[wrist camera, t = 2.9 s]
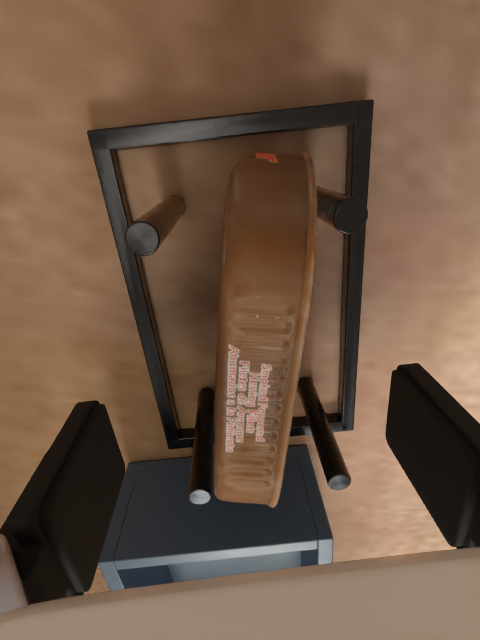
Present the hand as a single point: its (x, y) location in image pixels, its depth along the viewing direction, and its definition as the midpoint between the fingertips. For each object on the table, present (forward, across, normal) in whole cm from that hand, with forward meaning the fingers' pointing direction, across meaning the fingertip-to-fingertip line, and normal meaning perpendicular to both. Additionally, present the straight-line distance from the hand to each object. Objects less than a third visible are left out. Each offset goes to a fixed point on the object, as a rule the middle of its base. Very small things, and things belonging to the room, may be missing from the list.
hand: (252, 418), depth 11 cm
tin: (+8, -1, 0) cm, 9 cm away
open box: (+9, +2, +20) cm, 22 cm away
